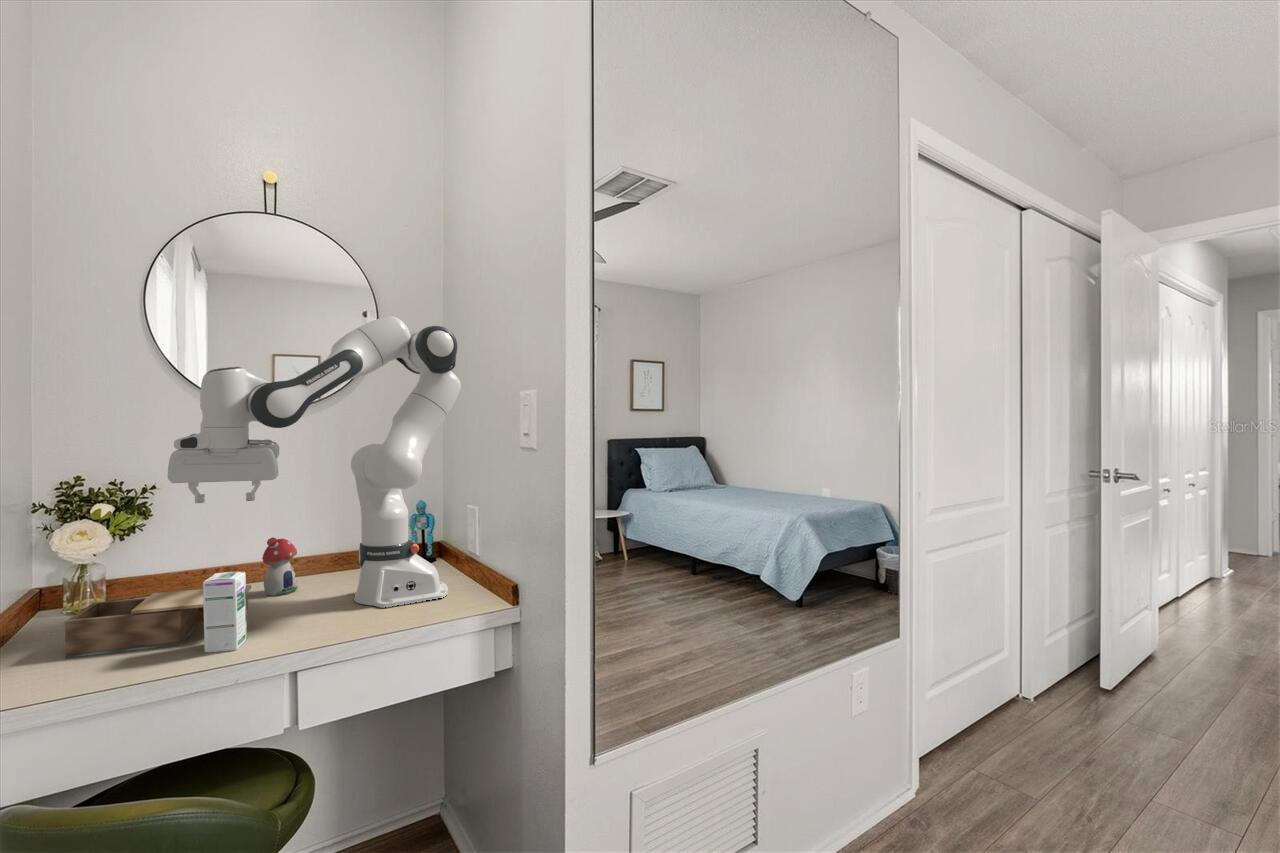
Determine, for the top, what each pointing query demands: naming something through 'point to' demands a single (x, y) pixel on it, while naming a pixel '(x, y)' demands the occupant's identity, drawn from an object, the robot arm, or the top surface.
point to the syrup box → (224, 611)
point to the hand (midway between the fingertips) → (225, 501)
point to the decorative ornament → (279, 567)
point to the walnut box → (125, 628)
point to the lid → (173, 601)
